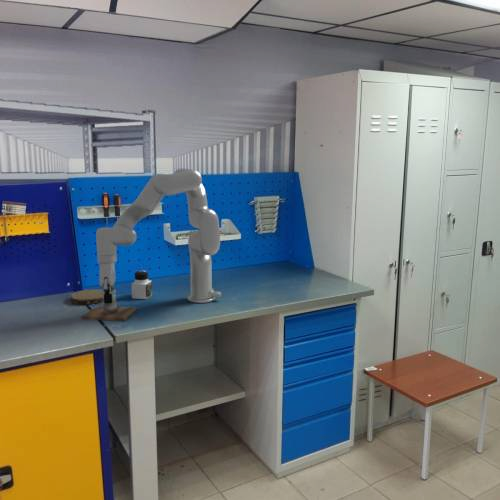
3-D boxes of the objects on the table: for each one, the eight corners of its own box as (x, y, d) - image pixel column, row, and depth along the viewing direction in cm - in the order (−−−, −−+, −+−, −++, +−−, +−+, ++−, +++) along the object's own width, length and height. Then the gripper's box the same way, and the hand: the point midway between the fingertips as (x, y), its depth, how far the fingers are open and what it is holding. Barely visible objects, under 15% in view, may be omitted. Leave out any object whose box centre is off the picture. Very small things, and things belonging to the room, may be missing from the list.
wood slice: (70, 297, 238) (70, 291, 237) (106, 294, 243) (106, 288, 243) (71, 307, 223) (71, 300, 223) (109, 303, 228) (108, 297, 228)
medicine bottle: (146, 299, 234) (145, 274, 232) (131, 298, 236) (130, 273, 233) (152, 295, 241) (151, 270, 239) (138, 294, 242) (137, 269, 240)
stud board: (136, 309, 219) (136, 298, 218) (125, 321, 206) (124, 308, 205) (96, 308, 221) (95, 296, 220) (82, 319, 208) (81, 306, 207)
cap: (100, 302, 212) (99, 291, 211) (110, 299, 216) (110, 288, 215) (108, 305, 209) (108, 293, 208) (119, 302, 213) (118, 290, 212)
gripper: (101, 253, 217) (103, 295, 220) (93, 263, 200) (96, 307, 204) (119, 253, 217) (121, 294, 221) (113, 262, 201) (115, 307, 204)
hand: (109, 300), depth 212 cm, fingers closed on cap, 5 cm apart
